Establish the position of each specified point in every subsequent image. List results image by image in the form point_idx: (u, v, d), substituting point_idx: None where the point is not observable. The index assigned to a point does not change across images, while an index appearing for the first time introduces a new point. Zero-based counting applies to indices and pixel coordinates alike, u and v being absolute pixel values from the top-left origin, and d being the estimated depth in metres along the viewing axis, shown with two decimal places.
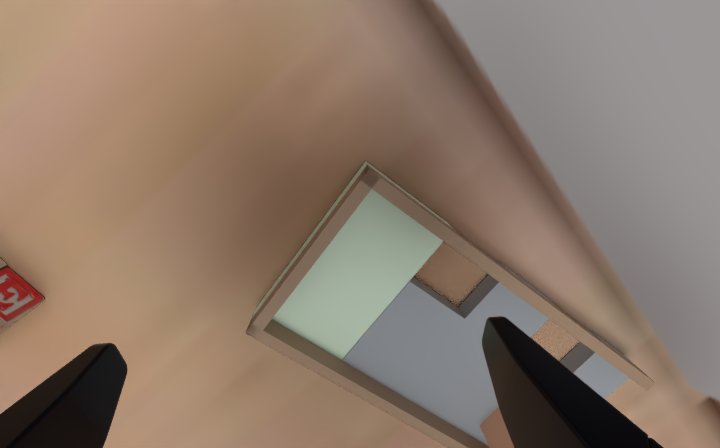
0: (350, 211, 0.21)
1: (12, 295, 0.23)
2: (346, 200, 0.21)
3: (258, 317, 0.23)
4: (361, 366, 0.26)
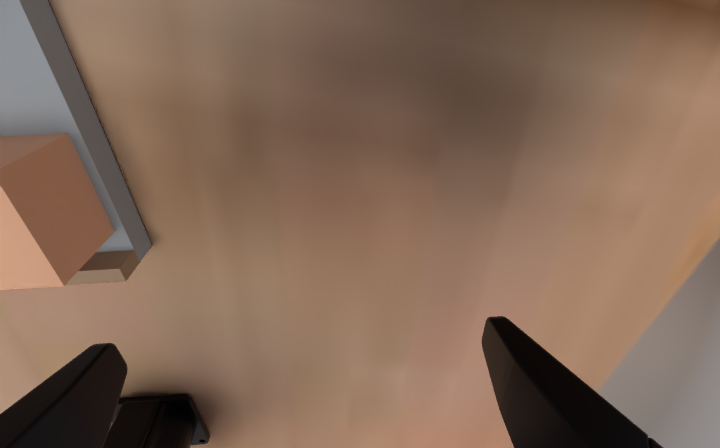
0: None
1: None
2: None
3: None
4: None
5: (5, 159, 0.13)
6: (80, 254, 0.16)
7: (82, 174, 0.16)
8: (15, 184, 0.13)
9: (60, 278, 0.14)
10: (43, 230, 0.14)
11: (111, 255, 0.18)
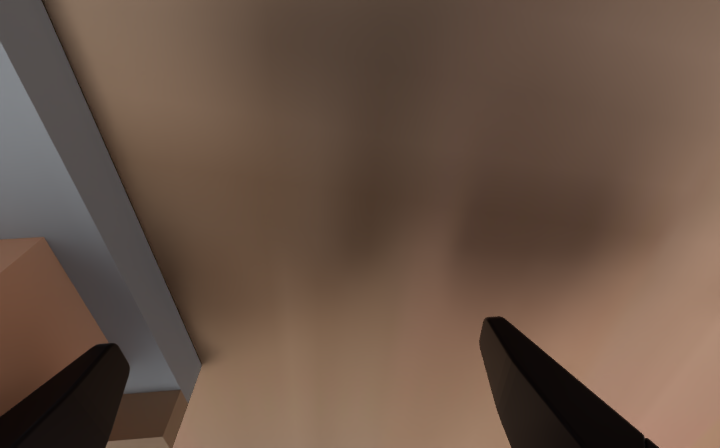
0: None
1: None
2: None
3: None
4: None
5: None
6: None
7: (70, 300, 0.09)
8: None
9: None
10: None
11: (146, 402, 0.12)
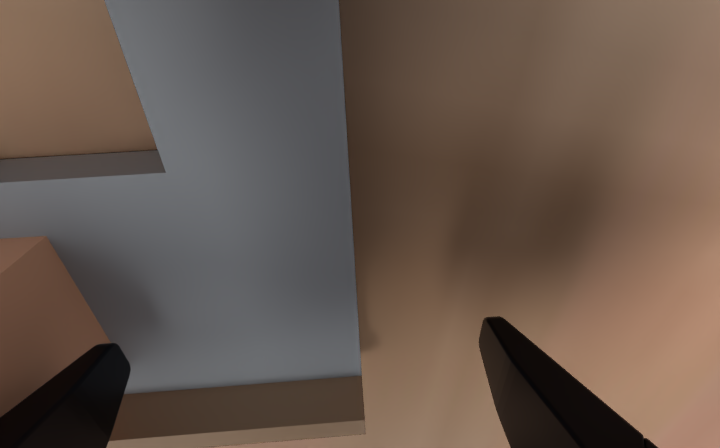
0: None
1: None
2: None
3: None
4: None
5: None
6: None
7: (72, 299, 0.09)
8: None
9: None
10: None
11: (332, 387, 0.12)
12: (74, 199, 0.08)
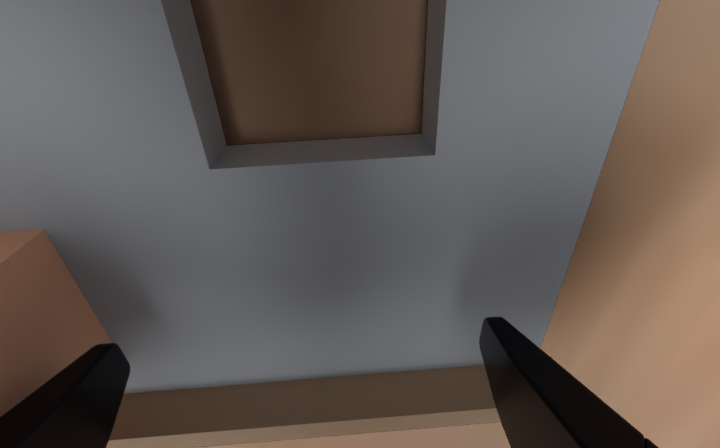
0: None
1: None
2: None
3: None
4: None
5: None
6: None
7: (70, 293, 0.09)
8: None
9: None
10: None
11: None
12: (338, 182, 0.08)
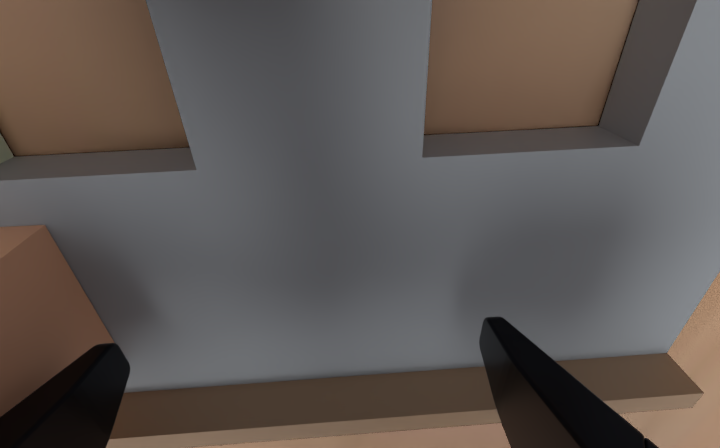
0: None
1: None
2: None
3: None
4: (148, 383, 0.12)
5: None
6: None
7: (71, 290, 0.09)
8: None
9: None
10: None
11: (646, 363, 0.12)
12: (539, 171, 0.08)
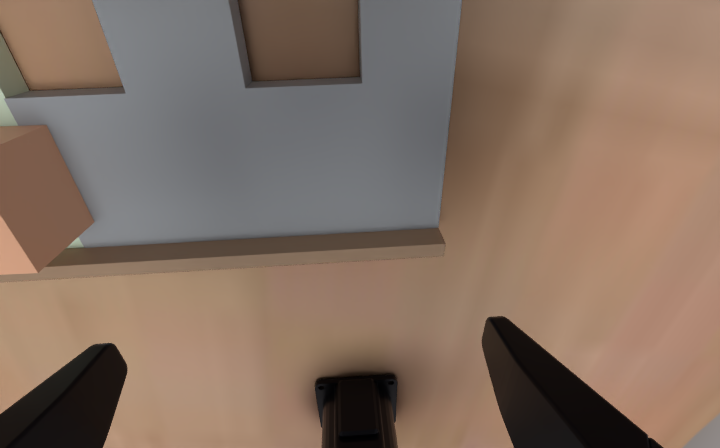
0: None
1: None
2: None
3: None
4: (109, 240, 0.19)
5: None
6: (56, 243, 0.16)
7: (60, 165, 0.16)
8: None
9: (34, 265, 0.15)
10: (17, 218, 0.14)
11: (422, 232, 0.19)
12: (311, 97, 0.16)
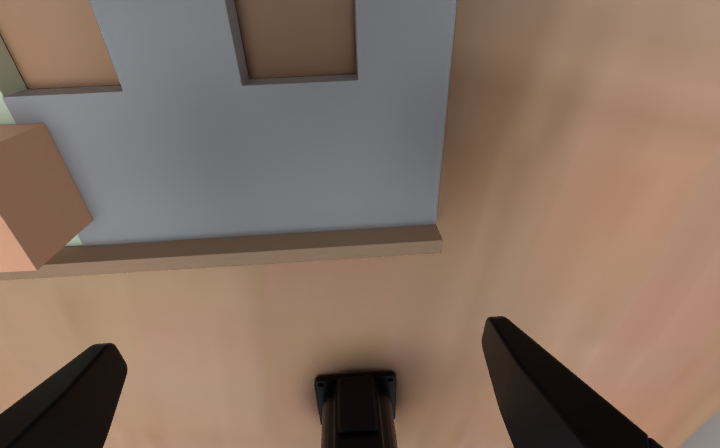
0: None
1: None
2: None
3: None
4: (108, 238, 0.19)
5: None
6: (54, 240, 0.16)
7: (59, 163, 0.16)
8: None
9: (33, 263, 0.15)
10: (16, 216, 0.14)
11: (419, 229, 0.20)
12: (308, 94, 0.16)
